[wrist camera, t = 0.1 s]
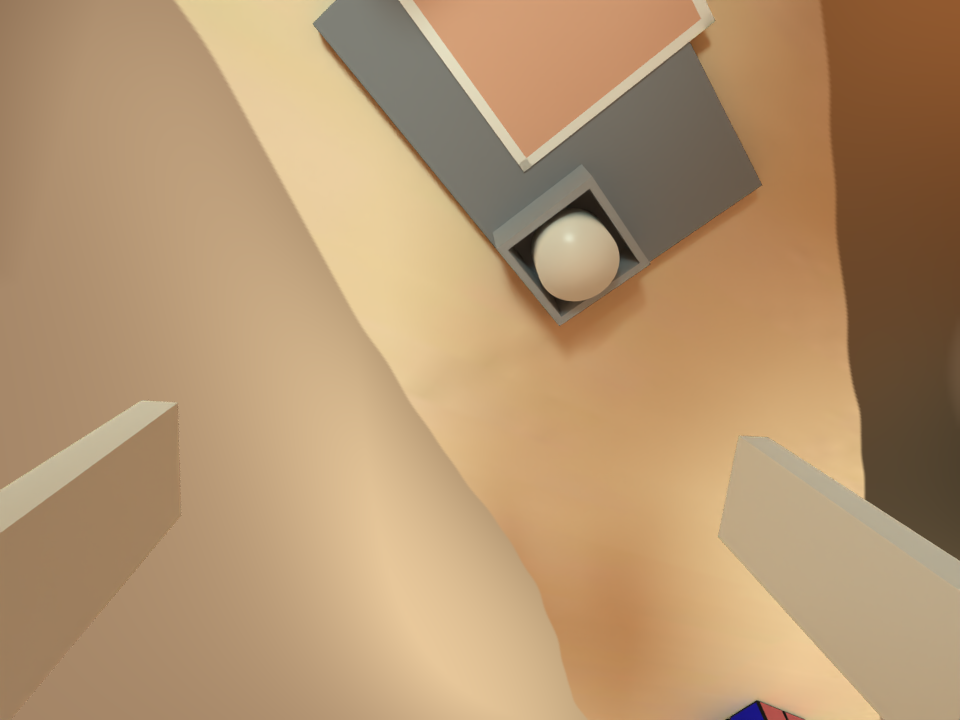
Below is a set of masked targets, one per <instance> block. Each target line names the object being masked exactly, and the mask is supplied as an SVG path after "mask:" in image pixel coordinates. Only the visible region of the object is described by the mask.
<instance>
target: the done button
mask: <svg viewBox="0 0 960 720" xmlns="http://www.w3.org/2000/svg"><path fill="white" fill-rule="evenodd" d="M531 254H532V258H533V261H534V264H535V267H536V270H537V273H538V276H539V279H540V281H541V283H542V285H543V286H544V288H545V289H546V290H547V291H548V292H549V293H550V294H552V295H553V296H555V297H557V298H559V299H562V300H566V301H582V300H586V299H589V298H592V297H594V296H596V295H598V294H599V293H601V292H602V291H603V290H605V289H606V288H607V287H608V286H609V284H610V283H611V282H612V280H613V279H614V277H615V275H616V273H617V270H618V267H619V250H618V247H617V244H616V242H615V241H614V239H613V237H612V236H611V235H610V233H609V232H608V231H607V229H606V228H605V226H604V225H603V224H602V222H601V221H600V220H599V219H598V218H597V217H596V216H595V215H593V214H592V213H590V212H588V211H586V210H582V209H576V208H571V209H564V210H561V211H559V212H558V213H557V214H555V215H554V216H553V217H551V218H550V219H549V220H547V221H546V222H545V223H543V224H542V225H541V226H539V227H538V228H537V230H536V231H535V233H534V236H533V239H532V243H531Z"/></svg>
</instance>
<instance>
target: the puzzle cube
mask: <svg viewBox="0 0 960 720" xmlns="http://www.w3.org/2000/svg"><path fill="white" fill-rule="evenodd" d="M726 720H804V719H802V718H799V717H797V716H794V715H792V714H789V713H787V712H784V711H782V710H779V709H777V708H774V707H772V706H769V705H767V704H764V703H762V702H759V701H755V702H754V703H752V704H750V705H749V706H747V707H745V708H744V709H742V710H741V711H739V712H737V713H736V714H734V715H733V716H731V718H730V719H726Z"/></svg>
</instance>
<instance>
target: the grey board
mask: <svg viewBox="0 0 960 720" xmlns="http://www.w3.org/2000/svg"><path fill="white" fill-rule="evenodd" d="M714 22H715V19H714V17H713V15H712V12H711V10H710V8H709V6H708V4H707V2H706V0H336V1H335V2H334V3H333V4H332V5H331V6H330V7H329V8H328V9H327V10H326V11H325V12H324V13H323V14H322V15H321V16H320V17H319V18H318V19H317V20H316V21H315V22H314V23H313V25H314V26H315V27H316V29H317V30H318V31H319V32H320V33H321V35H322V36H323V37H324V38H325V40H326V41H327V42H328V43H329V44H330V46H331V47H332V48H333V49H334V51H335V52H336V53H337V54H338V56H339V57H340V58H341V59H342V60H343V62H344V63H345V64H346V65H347V67H348V68H349V69H350V70H351V71H352V73H353V74H354V75H355V76H356V78H357V79H358V80H359V81H360V82H361V84H362V85H363V86H364V87H365V89H366V90H367V91H368V92H369V93H370V95H371V96H372V97H373V98H374V100H375V101H376V102H377V103H378V105H379V106H380V107H381V108H382V109H383V111H384V112H385V113H386V114H387V116H388V117H389V118H390V119H391V120H392V122H393V123H394V124H395V125H396V127H397V128H398V129H399V130H400V131H401V133H402V134H403V135H404V136H405V138H406V139H407V140H408V141H409V142H410V144H411V145H412V146H413V147H414V149H415V150H416V151H417V152H418V154H419V155H420V156H421V157H422V158H423V160H424V161H425V162H426V163H427V165H428V166H429V167H430V168H431V169H432V171H433V172H434V173H435V174H436V176H437V177H438V178H439V179H440V180H441V182H442V183H443V184H444V185H445V187H446V188H447V189H448V190H449V191H450V193H451V194H452V195H453V196H454V198H455V199H456V200H457V201H458V203H459V204H460V205H461V206H462V207H463V209H464V210H465V211H466V212H467V214H468V215H469V216H470V217H471V218H472V220H473V221H474V222H475V223H476V225H477V226H478V227H479V228H480V229H481V231H482V232H483V233H484V234H485V236H486V237H487V238H488V239H489V241H490V242H491V243H492V244H493V245H494V247H495V248H496V249H497V250H498V252H499V253H500V254H501V255H502V257H503V258H504V259H505V260H506V261H507V263H508V264H509V265H510V266H511V268H512V269H513V270H514V271H515V273H516V274H517V275H518V276H519V277H520V279H521V280H522V281H523V282H524V284H525V285H526V286H527V287H528V288H529V290H530V291H531V292H532V293H533V295H534V296H535V297H536V298H537V299H538V301H539V302H540V303H541V304H542V306H543V307H544V308H545V309H546V310H547V312H548V313H549V314H550V315H551V317H552V318H553V319H554V320H555V322H556V323H557V324H558V325H559V326H560V325H562V324H563V323H565V322H566V321H568V320H569V319H571V318H572V317H574V316H575V315H577V314H578V313H580V312H581V311H582V310H584V309H585V308H587V307H588V306H590V305H591V304H593V303H594V302H596V301H597V300H599V299H600V298H602V297H603V296H604V295H606V294H607V293H609V292H610V291H612V290H613V289H615V288H616V287H618V286H619V285H621V284H622V283H624V282H625V281H627V280H628V279H629V278H631V277H632V276H634V275H635V274H637V273H638V272H640V271H641V270H643V269H644V268H646V267H647V266H649V265H650V261H652V260H653V259H655V258H656V257H657V256H659V255H660V254H662V253H663V252H665V251H666V250H668V249H669V248H671V247H672V246H674V245H675V244H677V243H678V242H679V241H681V240H682V239H684V238H685V237H687V236H688V235H690V234H691V233H693V232H694V231H696V230H697V229H699V228H700V227H701V226H703V225H704V224H706V223H707V222H709V221H710V220H712V219H713V218H715V217H716V216H718V215H719V214H720V213H722V212H723V211H725V210H726V209H728V208H729V207H731V206H732V205H734V204H735V203H737V202H738V201H740V200H741V199H742V198H744V197H745V196H747V195H748V194H750V193H751V192H753V191H754V190H756V189H757V188H759V187H760V186H761V185H762V184H761V182H760V180H759V178H758V176H757V174H756V172H755V170H754V168H753V166H752V164H751V162H750V160H749V158H748V156H747V154H746V152H745V150H744V148H743V146H742V144H741V142H740V140H739V138H738V136H737V134H736V132H735V130H734V128H733V127H732V125H731V123H730V121H729V119H728V117H727V115H726V113H725V111H724V109H723V107H722V105H721V103H720V101H719V99H718V97H717V95H716V93H715V91H714V89H713V87H712V85H711V83H710V81H709V79H708V77H707V75H706V73H705V71H704V69H703V67H702V65H701V63H700V61H699V59H698V57H697V55H696V53H695V51H694V49H693V47H692V46H691V44H690V42H689V41H691V40H692V39H693V38H695V37H696V36H697V35H698V34H700V33H701V32H702V31H703V30H705V29H706V28H707V27H708V26H710V25H711V24H712V23H714ZM571 208H576V209H582V210H586V211H588V212H590V213H592V214H593V215H595V216H596V217H597V218H598V219H599V220H600V221H601V222H602V224H603V225H604V226H605V228H606V229H607V231H608V232H609V233H610V235H611V236H612V237H613V239H614V241H615V242H616V244H617V247H618V250H619V267H618V270H617V273H616V275H615V277H614V279H613V280H612V282H611V283H610V284H609V286H608V287H607V288H606V289H605V290H603V291H602V292H601V293H599V294H598V295H596V296H594V297H592V298H589V299H586V300H582V301H566V300H562V299H559V298H557V297H555V296H553V295H552V294H550V293H549V292H548V291H547V290H546V289H545V288H544V286H543V285H542V283H541V281H540V279H539V276H538V273H537V270H536V267H535V264H534V261H533V258H532V254H531V243H532V239H533V236H534V233H535V231H536V230H537V228H538V227H539V226H541V225H542V224H543V223H545V222H546V221H547V220H549V219H550V218H551V217H553V216H554V215H555V214H557V213H558V212H559V211H561V210H564V209H571Z"/></svg>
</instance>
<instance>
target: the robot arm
mask: <svg viewBox="0 0 960 720" xmlns="http://www.w3.org/2000/svg"><path fill="white" fill-rule="evenodd" d="M180 495H181V492H180V460H179V423H178V403H175V402H158V401H140V402H138V403H137V404H135V405H134V406H132V407H131V408H129V409H127V410H126V411H124V412H123V413H121V414H120V415H118V416H116V417H115V418H113V419H112V420H110V421H108V422H107V423H105V424H104V425H102V426H101V427H99V428H97V429H96V430H94V431H93V432H91V433H89V434H88V435H86V436H85V437H83V438H82V439H80V440H79V441H77V442H75V443H74V444H72V445H70V446H69V447H67V448H66V449H64V450H63V451H61V452H60V453H58V454H56V455H55V456H53V457H52V458H50V459H48V460H47V461H45V462H44V463H42V464H40V465H39V466H37V467H36V468H34V469H33V470H31V471H29V472H28V473H26V474H25V475H23V476H22V477H20V478H18V479H17V480H15V481H14V482H12V483H11V484H9V485H7V486H6V487H4V488H3V489H1V490H0V720H11V719H12V718H13V717H14V716H15V714H16V713H17V712H18V711H19V710H20V708H21V707H22V706H23V705H24V704H25V702H26V701H27V700H28V699H29V698H30V696H31V695H32V694H33V693H34V692H35V690H36V689H37V688H38V687H39V686H40V684H41V683H42V682H43V681H44V679H45V678H46V677H47V676H48V675H49V674H50V672H51V671H52V670H53V669H54V668H55V666H56V665H57V664H58V663H59V662H60V660H61V659H62V658H63V657H64V656H65V654H66V653H67V652H68V651H69V650H70V648H71V647H72V646H73V645H74V644H75V642H76V641H77V640H78V639H79V638H80V636H81V635H82V634H83V633H84V632H85V630H86V629H87V628H88V627H89V626H90V625H91V623H92V622H93V621H94V619H96V617H97V616H98V615H99V614H100V612H101V611H102V610H103V609H104V608H105V606H106V605H107V604H108V603H109V602H110V601H111V599H112V598H113V597H114V596H115V595H116V593H117V592H118V591H119V590H120V589H121V587H122V586H123V585H124V584H125V583H126V581H127V580H128V579H129V578H130V576H131V575H132V574H133V573H134V572H135V570H136V569H137V568H138V567H139V566H140V565H141V563H142V562H143V561H144V560H145V559H146V557H147V556H148V555H149V554H150V553H151V551H152V550H153V549H154V548H155V547H156V545H157V544H158V543H159V542H160V541H161V539H162V538H163V537H164V536H165V535H166V533H167V532H168V531H169V530H170V528H171V527H172V526H173V525H174V524H175V523H176V521H177V520H178V519H179V518H180V517H181V496H180ZM718 538H719V539H720V540H721V541H722V542H723V543H724V544H725V545H726V546H727V547H728V549H729V550H730V551H731V552H732V553H733V554H734V555H735V556H736V557H737V559H738V560H739V561H740V562H741V563H742V564H743V565H744V566H745V567H746V568H747V570H748V571H749V572H750V573H751V574H752V575H753V576H754V577H755V578H756V579H757V581H758V582H759V583H760V584H761V585H762V586H763V587H764V588H765V589H766V591H767V592H768V593H769V594H770V595H771V596H772V597H773V598H774V599H775V600H776V602H777V603H778V604H779V605H780V606H781V607H782V608H783V609H784V610H785V611H786V613H787V614H788V615H789V616H790V617H791V618H792V619H793V620H794V621H795V622H796V624H797V625H798V626H799V627H800V628H801V629H802V630H803V631H804V632H805V634H806V635H807V636H808V637H809V638H810V639H811V640H812V641H813V642H814V643H815V645H816V646H817V647H818V648H819V649H820V650H821V651H822V652H823V653H824V654H825V656H826V657H827V658H828V659H829V660H830V661H831V662H832V663H833V664H834V666H835V667H836V668H837V669H838V670H839V671H840V672H841V673H842V674H843V675H844V677H845V678H846V679H847V680H848V681H849V682H850V683H851V684H852V685H853V686H854V688H855V689H856V690H857V691H858V692H859V693H860V694H861V695H862V696H863V697H864V699H865V700H866V701H867V702H868V703H869V704H870V705H871V706H872V707H873V709H874V710H875V711H876V712H877V713H878V714H879V715H880V716H881V717H882V718H883V719H884V720H960V561H959V560H957V559H956V558H954V557H952V556H951V555H950V554H948V553H946V552H945V551H943V550H942V549H940V548H939V547H937V546H935V545H934V544H932V543H931V542H929V541H928V540H926V539H925V538H923V537H922V536H920V535H919V534H917V533H915V532H914V531H912V530H911V529H909V528H908V527H906V526H905V525H903V524H902V523H900V522H898V521H897V520H895V519H894V518H892V517H891V516H889V515H888V514H886V513H885V512H883V511H881V510H880V509H878V508H877V507H875V506H874V505H872V504H871V503H869V502H868V501H866V500H864V499H863V498H861V497H860V496H858V495H857V494H855V493H854V492H852V491H850V490H849V489H847V488H846V487H844V486H843V485H841V484H840V483H838V482H837V481H835V480H833V479H832V478H830V477H829V476H827V475H826V474H824V473H823V472H821V471H820V470H818V469H816V468H815V467H813V466H812V465H810V464H809V463H807V462H806V461H804V460H802V459H801V458H799V457H798V456H796V455H795V454H793V453H792V452H790V451H789V450H787V449H785V448H784V447H782V446H781V445H779V444H778V443H776V442H775V441H773V440H772V439H770V438H768V437H754V436H739V437H738V441H737V446H736V451H735V456H734V461H733V466H732V471H731V475H730V480H729V485H728V490H727V495H726V500H725V505H724V509H723V514H722V519H721V524H720V529H719V534H718Z"/></svg>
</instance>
